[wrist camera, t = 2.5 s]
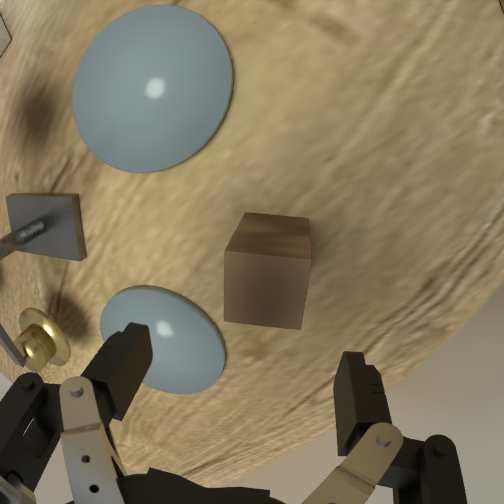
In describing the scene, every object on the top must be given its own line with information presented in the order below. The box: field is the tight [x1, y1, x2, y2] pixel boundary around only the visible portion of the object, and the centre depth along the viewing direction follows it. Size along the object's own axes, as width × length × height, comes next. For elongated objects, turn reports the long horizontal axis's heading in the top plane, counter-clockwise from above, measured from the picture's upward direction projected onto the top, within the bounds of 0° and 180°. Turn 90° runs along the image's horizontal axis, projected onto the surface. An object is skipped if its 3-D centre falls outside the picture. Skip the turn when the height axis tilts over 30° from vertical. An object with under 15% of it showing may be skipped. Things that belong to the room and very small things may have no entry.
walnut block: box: [224, 212, 312, 330], centre depth 20 cm, size 4×4×7 cm
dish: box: [100, 286, 226, 394], centre depth 28 cm, size 13×13×1 cm
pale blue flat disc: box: [72, 5, 234, 173], centre depth 19 cm, size 13×13×1 cm
